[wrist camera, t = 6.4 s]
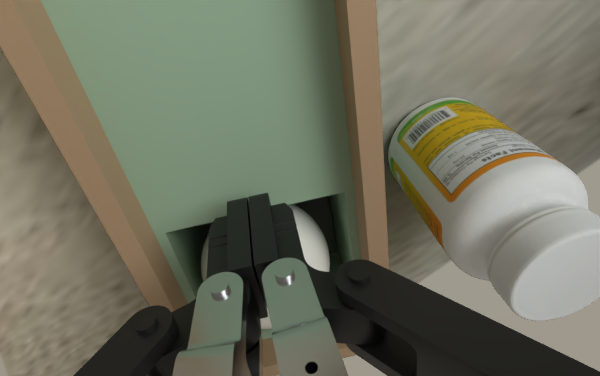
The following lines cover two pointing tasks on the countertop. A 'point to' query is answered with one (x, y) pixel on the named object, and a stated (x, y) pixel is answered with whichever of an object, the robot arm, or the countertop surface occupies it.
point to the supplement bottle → (500, 207)
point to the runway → (209, 121)
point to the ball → (310, 243)
